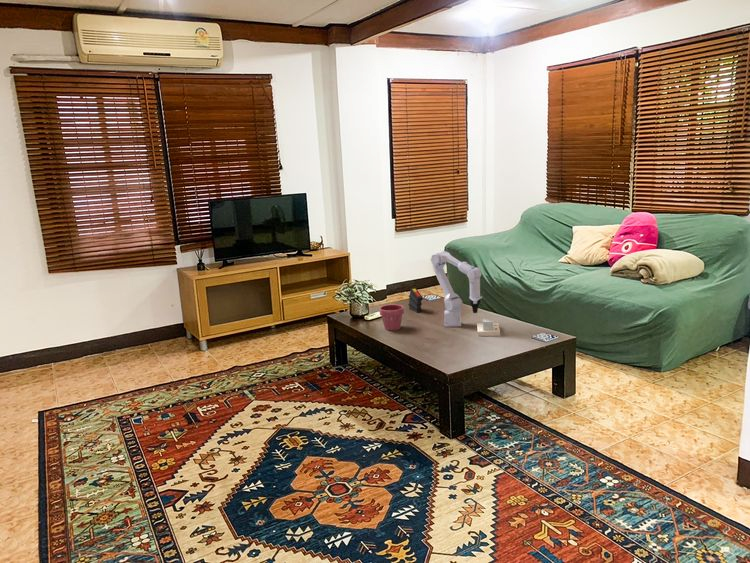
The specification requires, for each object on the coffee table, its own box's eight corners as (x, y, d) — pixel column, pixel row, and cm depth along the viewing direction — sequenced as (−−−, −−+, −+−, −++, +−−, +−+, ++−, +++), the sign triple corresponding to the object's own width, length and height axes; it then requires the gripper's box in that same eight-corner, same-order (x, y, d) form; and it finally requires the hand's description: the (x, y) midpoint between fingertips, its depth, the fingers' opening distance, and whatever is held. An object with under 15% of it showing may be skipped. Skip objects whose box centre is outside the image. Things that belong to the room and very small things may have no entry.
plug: (483, 333, 313) (483, 321, 311) (483, 331, 317) (482, 319, 316) (493, 333, 312) (493, 321, 310) (493, 331, 316) (493, 319, 315)
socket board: (477, 335, 312) (477, 330, 311) (477, 327, 326) (476, 322, 326) (499, 335, 310) (499, 330, 309) (498, 327, 324) (498, 322, 324)
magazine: (411, 304, 375) (415, 286, 367) (420, 317, 366) (424, 299, 357) (406, 305, 374) (410, 287, 365) (415, 318, 365) (419, 300, 356)
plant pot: (384, 324, 342) (383, 303, 339) (406, 324, 338) (405, 304, 335) (377, 331, 329) (376, 310, 326) (401, 332, 325) (400, 311, 322)
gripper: (482, 292, 310) (482, 316, 313) (481, 286, 324) (481, 309, 327) (469, 292, 311) (469, 316, 314) (469, 286, 325) (469, 309, 328)
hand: (475, 312), depth 321 cm, fingers closed
